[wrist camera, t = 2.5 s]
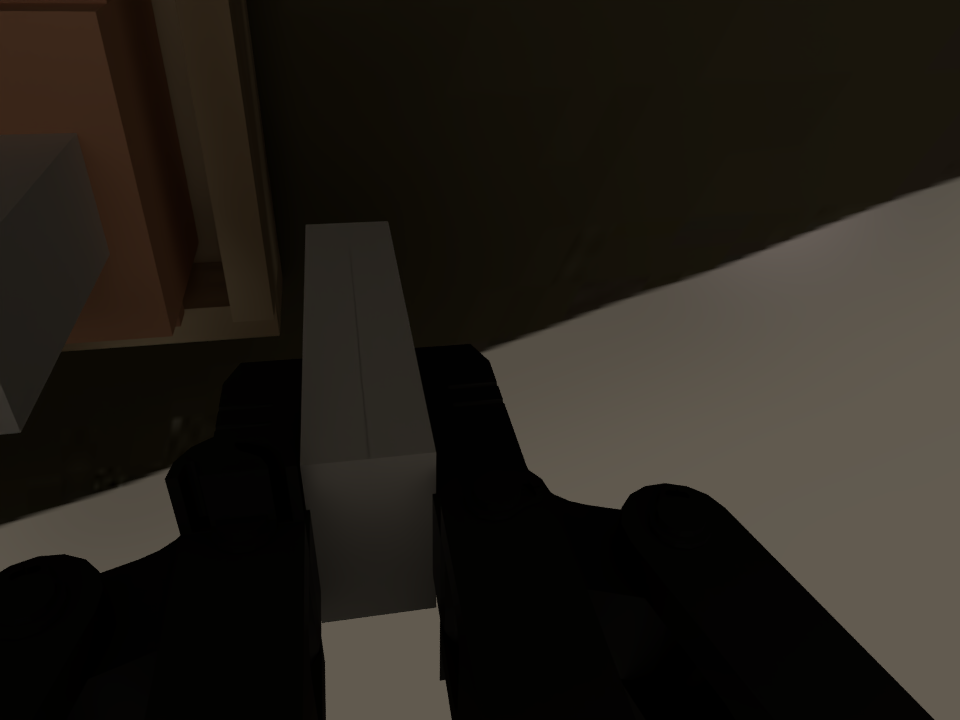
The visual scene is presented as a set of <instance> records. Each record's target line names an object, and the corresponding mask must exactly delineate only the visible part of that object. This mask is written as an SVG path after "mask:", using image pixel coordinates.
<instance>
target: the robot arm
mask: <svg viewBox="0 0 960 720" xmlns="http://www.w3.org/2000/svg"><path fill="white" fill-rule="evenodd" d="M165 481H166V485H167V488H168V492H169V495H170V499H171V503H172V506H173V510H174V513H175V517H176V521H177V524H178V528H179V531H180V536H179V537H178V538H177V539H176V540H175V541H173V542H172V543H170V544H169V545H167V546H166V547H164V548H162V549H161V550H159V551H157V552H155V553H153V554H150V555H148V556H146V557H144V558H141V559H139V560H136V561H133V562H130V563H128V564H125V565H122V566H119V567H116V568H114V569H111V570H108V571H105V572H102V573H100V572H99V571H98V570H97V569H96V568H95V567H94V566H92V565H91V564H90V563H89V562H88V561H87V560H86V559H82V558H78V557H74V556H69V555H65V554H62V555H50V556H39V557H35V558H32V559H29V560H27V561H23V562H21V563H18V564H15V565H12V566H9V567H8V568H6V569H4V570H3V571H1V572H0V720H326V703H325V660H324V653H323V646H322V639H321V621H322V623H325V622H331V621H339V620H347V619H354V618H362V617H368V616H376V615H384V614H390V613H398V612H406V611H413V610H420V609H428V608H435V607H436V597H437V603H438V608H439V615H440V680H446V686H447V692H448V698H449V705H450V711H451V717H452V720H934V719H933V718H932V717H931V716H930V715H929V714H928V713H927V712H926V711H925V710H924V709H923V708H922V707H921V706H920V705H919V704H918V703H917V702H916V701H915V700H914V699H913V698H912V697H911V695H910V694H909V693H907V691H906V690H904V688H903V687H902V686H900V685H899V683H898V682H897V681H896V680H895V679H894V678H893V677H892V676H891V675H890V674H889V673H888V672H887V671H886V670H885V669H884V668H883V667H882V666H881V665H880V664H879V663H878V662H877V661H876V660H875V659H874V658H873V657H872V656H871V655H870V654H869V653H868V652H867V651H866V650H865V649H864V648H863V647H862V646H861V645H860V644H859V643H858V642H857V641H856V640H855V639H854V638H853V637H852V636H851V635H850V634H849V633H848V632H847V631H846V630H845V629H844V628H843V627H842V626H841V625H840V624H839V623H838V622H837V621H836V620H835V619H834V618H833V617H832V616H831V615H830V614H829V613H828V612H827V611H826V610H825V608H823V607H822V606H821V604H819V602H817V600H815V598H814V597H813V596H812V595H811V594H810V593H809V592H807V590H806V589H805V588H804V587H803V586H802V585H801V584H800V583H799V582H798V581H797V580H796V579H795V578H794V577H793V576H792V575H791V574H790V573H789V572H788V571H787V570H786V569H785V568H784V567H783V566H782V565H781V564H780V563H779V562H778V561H777V560H776V559H775V558H774V557H773V556H772V555H771V554H770V553H769V552H768V551H767V550H766V549H765V548H764V547H763V546H762V545H761V544H760V543H759V542H758V541H757V540H756V539H755V538H754V537H753V536H752V535H751V534H750V533H749V532H748V531H747V530H746V529H745V528H744V527H743V526H742V525H741V524H740V523H739V521H738V520H737V519H736V518H735V517H734V516H732V514H731V513H730V512H729V511H728V510H727V509H726V508H725V507H723V506H722V505H721V504H719V503H718V502H717V501H715V500H714V499H713V498H711V497H710V496H709V495H707V494H704V493H702V492H700V491H697V490H695V489H692V488H690V487H687V486H681V485H674V484H666V483H664V484H657V485H650V486H645V487H643V488H641V489H639V490H638V491H636V492H634V493H632V494H630V496H629V497H628V499H627V500H626V502H625V503H624V505H623V506H622V509H621V510H619V509H612V508H604V507H598V506H591V505H584V504H580V503H576V502H571V501H568V500H566V499H563V498H561V497H559V496H556V495H554V494H552V493H551V492H550V491H549V489H548V488H547V486H546V485H545V483H544V482H543V480H542V479H541V478H539V477H538V476H537V475H535V474H534V473H532V472H531V471H529V470H528V468H527V466H526V463H525V461H524V458H523V455H522V452H521V449H520V447H519V444H518V441H517V438H516V435H515V432H514V429H513V427H512V424H511V421H510V418H509V415H508V413H507V410H506V407H505V404H504V403H503V398H502V396H501V393H500V390H499V387H498V386H497V382H496V379H495V376H494V373H493V370H492V367H491V364H490V362H489V360H488V359H486V358H485V357H484V356H483V355H482V354H481V353H480V352H479V351H477V350H476V349H475V348H474V347H473V346H472V345H471V344H464V345H450V346H436V347H423V348H414V344H413V339H412V334H411V329H410V324H409V320H408V315H407V310H406V305H405V300H404V296H403V291H402V286H401V281H400V276H399V272H398V267H397V262H396V257H395V252H394V248H393V243H392V238H391V233H390V228H389V224H388V221H379V222H356V223H332V224H309V225H306V232H305V274H304V316H303V358H302V359H290V360H276V361H262V362H249V363H241V364H240V365H239V366H238V367H237V368H236V369H235V371H234V372H233V373H232V374H231V375H230V377H229V378H228V379H227V380H226V381H225V382H224V384H223V388H222V393H221V399H220V405H219V412H218V416H217V422H216V431H215V433H214V437H213V438H210V439H208V440H206V441H204V442H202V443H200V444H198V445H195V446H193V447H191V448H190V449H189V450H187V451H186V452H185V453H184V454H183V455H182V456H180V457H179V458H178V459H177V460H176V461H175V462H174V463H173V465H172V467H171V468H170V470H169V472H168V474H167V476H166V478H165Z"/></svg>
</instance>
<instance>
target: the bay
mask: <svg viewBox="0 0 960 720" xmlns="http://www.w3.org/2000/svg"><path fill="white" fill-rule="evenodd" d="M151 3H152V8H153V13H154V18H155V23H156V28H157V33H158V38H159V43H160V48H161V53H162V59H163V64H164V69H165V74H166V79H167V84H168V89H169V94H170V99H171V104H172V109H173V114H174V119H175V124H176V129H177V134H178V139H179V145H180V150H181V155H182V160H183V165H184V170H185V175H186V180H187V185H188V190H189V195H190V200H191V205H192V210H193V215H194V220H195V225H196V231H197V236H198V241H199V244H198V247H197V251H196V255H195V258H194V262H193V265H192V269H191V273H190V276H189V280H188V283H187V287H186V290H185V294H184V298H183V301H182V303H183V307H184V312H185V313H184V316H183V320H182V324H181V326H179V327H175V330H174V333H173V336H170V337H156V338H142V339H128V340H114V341H100V342H86V343H72V344H65V345H64V347H63V349H62V351H61V352H63V351H76V350H90V349H104V348H117V347H131V346H145V345H158V344H172V343H186V342H199V341H213V340H227V339H240V338H254V337H268V336H280V322H281V303H282V284H283V276H282V269H281V261H280V254H279V246H278V238H277V231H276V223H275V216H274V208H273V200H272V193H271V185H270V177H269V170H268V162H267V155H266V147H265V139H264V132H263V124H262V117H261V109H260V101H259V94H258V86H257V79H256V71H255V63H254V56H253V48H252V41H251V33H250V25H249V18H248V10H247V3H246V0H151Z"/></svg>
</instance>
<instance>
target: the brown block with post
mask: <svg viewBox="0 0 960 720" xmlns="http://www.w3.org/2000/svg"><path fill="white" fill-rule="evenodd" d="M198 244H199V241H198V236H197V231H196V225H195V220H194V215H193V210H192V205H191V200H190V195H189V190H188V185H187V180H186V175H185V170H184V165H183V160H182V155H181V150H180V145H179V139H178V134H177V129H176V124H175V119H174V114H173V109H172V104H171V99H170V94H169V89H168V84H167V79H166V74H165V69H164V64H163V59H162V53H161V48H160V43H159V38H158V33H157V28H156V23H155V18H154V13H153V8H152V3H151V0H0V435H1V434H12V433H21V431H22V429H23V427H24V425H25V423H26V421H27V419H28V417H29V415H30V413H31V411H32V409H33V407H34V405H35V403H36V401H37V399H38V397H39V395H40V393H41V391H42V389H43V387H44V385H45V383H46V381H47V379H48V377H49V375H50V373H51V371H52V369H53V367H54V365H55V363H56V361H57V359H58V357H59V355H60V353H61V351H62V349H63V347H64V345H65V344H72V343H86V342H100V341H114V340H128V339H142V338H156V337H170V336H173V333H174V330H175V327H179V326H181V324H182V320H183V316H184V313H185V312H184V307H183V303H182V301H183V298H184V294H185V290H186V287H187V283H188V280H189V276H190V273H191V269H192V265H193V262H194V258H195V255H196V251H197V247H198Z"/></svg>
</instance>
